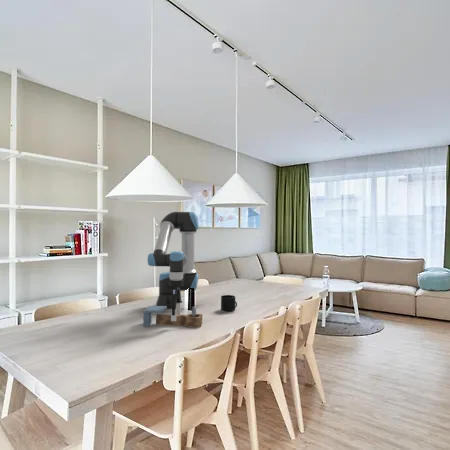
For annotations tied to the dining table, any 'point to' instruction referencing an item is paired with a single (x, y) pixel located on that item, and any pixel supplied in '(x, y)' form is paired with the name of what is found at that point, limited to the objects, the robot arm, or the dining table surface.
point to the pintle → (193, 311)
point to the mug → (228, 303)
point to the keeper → (148, 314)
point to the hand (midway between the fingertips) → (175, 317)
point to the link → (179, 320)
